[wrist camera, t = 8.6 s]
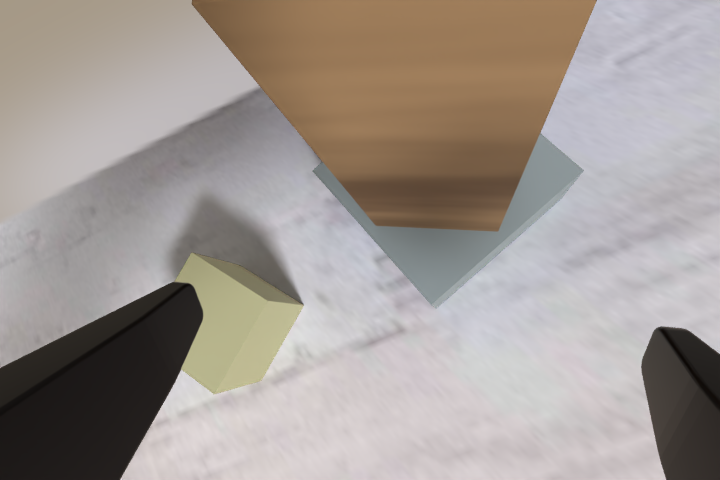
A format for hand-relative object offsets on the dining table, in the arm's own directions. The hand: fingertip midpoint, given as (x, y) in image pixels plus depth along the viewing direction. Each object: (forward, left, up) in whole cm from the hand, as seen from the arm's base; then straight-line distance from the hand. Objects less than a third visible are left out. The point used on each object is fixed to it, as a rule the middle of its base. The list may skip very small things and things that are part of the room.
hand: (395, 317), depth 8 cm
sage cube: (-7, +6, -13) cm, 16 cm away
